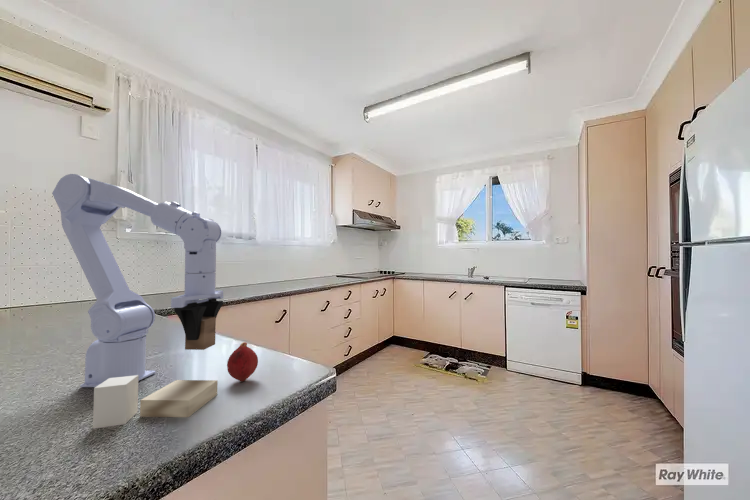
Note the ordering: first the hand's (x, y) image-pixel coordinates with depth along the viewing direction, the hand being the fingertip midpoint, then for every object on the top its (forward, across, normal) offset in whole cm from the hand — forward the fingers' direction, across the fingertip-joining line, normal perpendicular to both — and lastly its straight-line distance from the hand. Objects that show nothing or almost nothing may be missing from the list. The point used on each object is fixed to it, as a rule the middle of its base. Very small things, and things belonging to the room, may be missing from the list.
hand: (199, 336), depth 62 cm
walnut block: (+2, 0, 0) cm, 2 cm away
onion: (+9, -1, -10) cm, 13 cm away
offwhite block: (+9, -16, +3) cm, 18 cm away
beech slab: (+9, -11, -4) cm, 15 cm away
